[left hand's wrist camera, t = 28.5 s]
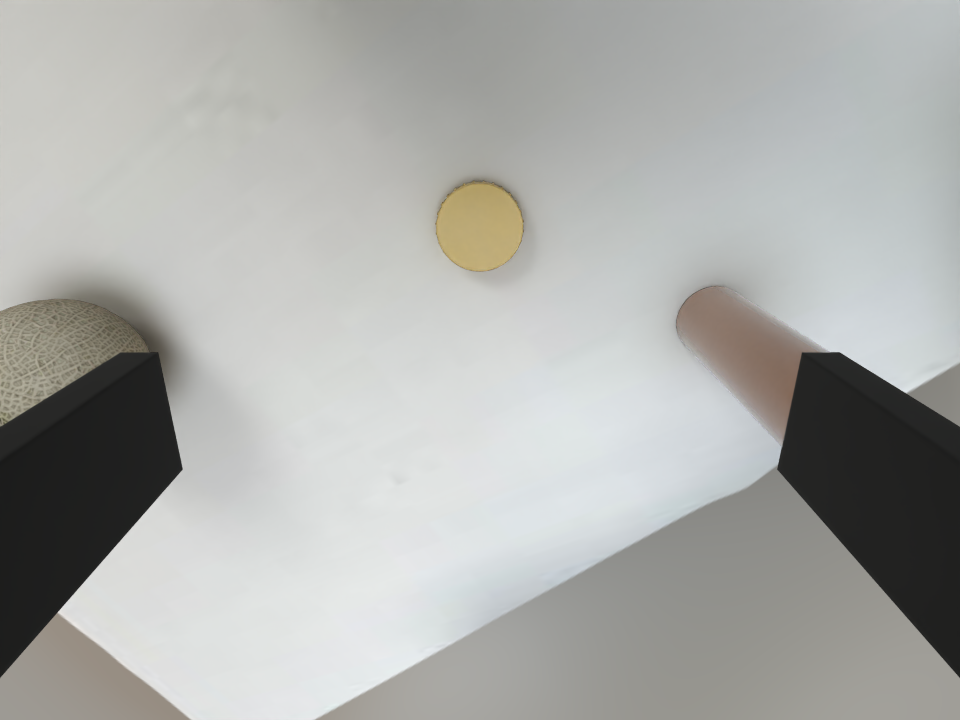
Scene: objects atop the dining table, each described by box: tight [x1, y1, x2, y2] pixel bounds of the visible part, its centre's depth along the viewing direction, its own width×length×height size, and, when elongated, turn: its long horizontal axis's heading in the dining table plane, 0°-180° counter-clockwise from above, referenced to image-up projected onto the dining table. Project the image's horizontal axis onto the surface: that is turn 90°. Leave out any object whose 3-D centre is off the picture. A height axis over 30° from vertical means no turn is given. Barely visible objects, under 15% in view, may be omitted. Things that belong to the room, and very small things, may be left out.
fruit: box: [0, 299, 149, 427], centre depth 36 cm, size 10×12×15 cm
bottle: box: [676, 286, 830, 447], centre depth 33 cm, size 5×5×18 cm
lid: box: [436, 180, 524, 271], centre depth 39 cm, size 6×6×2 cm
